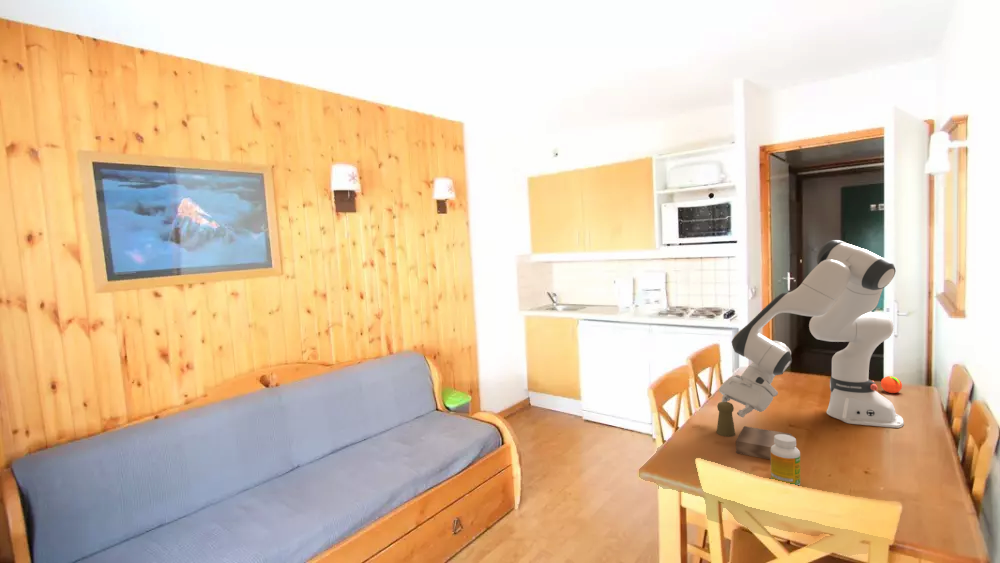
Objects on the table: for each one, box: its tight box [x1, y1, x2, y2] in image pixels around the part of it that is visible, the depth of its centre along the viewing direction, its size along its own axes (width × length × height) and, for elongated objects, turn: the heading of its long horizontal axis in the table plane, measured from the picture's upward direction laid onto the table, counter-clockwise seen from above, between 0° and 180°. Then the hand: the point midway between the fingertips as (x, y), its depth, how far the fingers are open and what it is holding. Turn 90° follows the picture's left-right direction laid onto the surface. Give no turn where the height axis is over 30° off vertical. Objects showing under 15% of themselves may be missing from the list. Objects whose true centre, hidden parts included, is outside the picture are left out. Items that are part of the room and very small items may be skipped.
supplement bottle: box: [770, 434, 801, 486], centre depth 134 cm, size 7×7×13 cm
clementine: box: [880, 375, 903, 394], centre depth 200 cm, size 8×7×7 cm
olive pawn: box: [716, 401, 736, 438], centre depth 169 cm, size 6×6×11 cm
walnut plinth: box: [735, 426, 793, 461], centre depth 155 cm, size 14×14×4 cm
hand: (730, 411), depth 169 cm, fingers open, 8 cm apart
